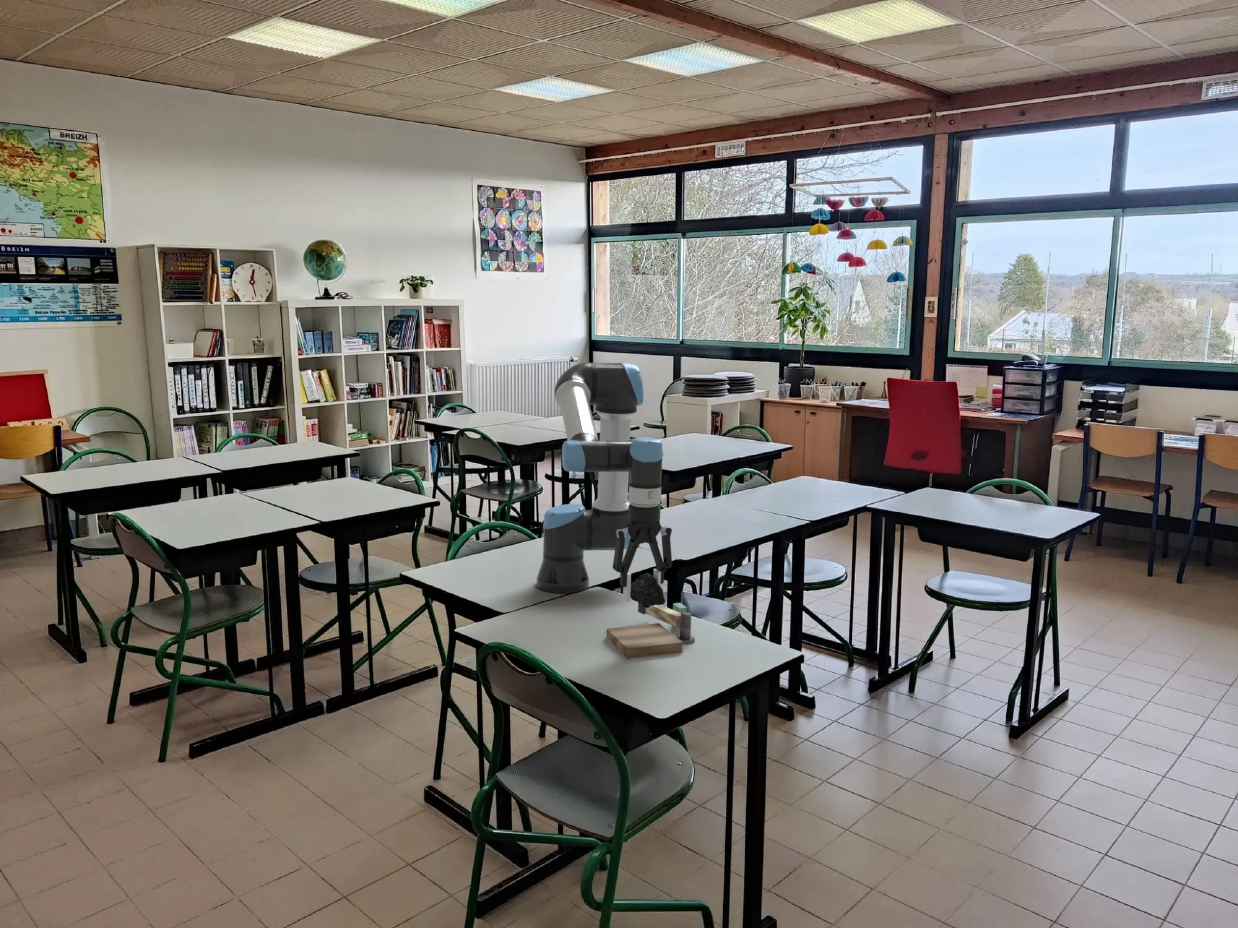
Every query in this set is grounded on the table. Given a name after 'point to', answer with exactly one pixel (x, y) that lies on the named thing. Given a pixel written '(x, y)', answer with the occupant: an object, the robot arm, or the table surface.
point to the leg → (662, 614)
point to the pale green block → (679, 609)
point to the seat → (650, 639)
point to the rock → (647, 591)
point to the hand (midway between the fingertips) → (641, 597)
